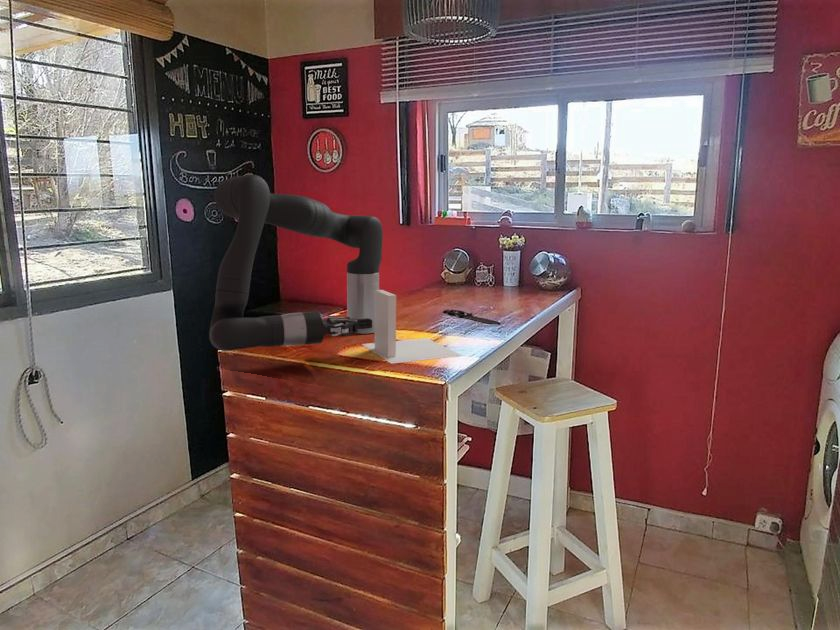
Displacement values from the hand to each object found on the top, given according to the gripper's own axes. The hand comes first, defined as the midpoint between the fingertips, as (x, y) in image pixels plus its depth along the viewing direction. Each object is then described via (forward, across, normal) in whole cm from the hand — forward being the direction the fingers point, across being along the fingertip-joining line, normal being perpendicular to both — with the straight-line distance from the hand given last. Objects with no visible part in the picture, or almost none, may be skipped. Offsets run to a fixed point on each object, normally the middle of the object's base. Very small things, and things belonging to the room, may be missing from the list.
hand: (370, 323), depth 147 cm
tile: (+4, 0, +8) cm, 9 cm away
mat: (+11, 0, +8) cm, 14 cm away
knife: (+48, +33, +9) cm, 59 cm away
